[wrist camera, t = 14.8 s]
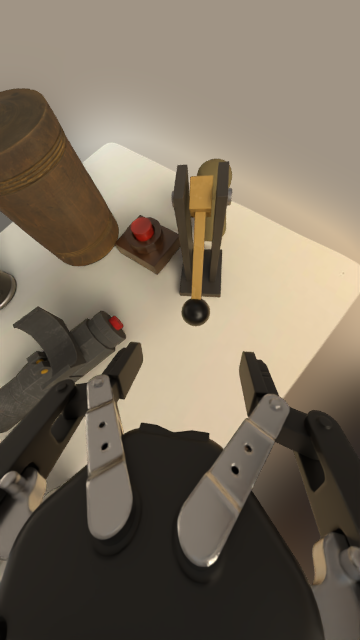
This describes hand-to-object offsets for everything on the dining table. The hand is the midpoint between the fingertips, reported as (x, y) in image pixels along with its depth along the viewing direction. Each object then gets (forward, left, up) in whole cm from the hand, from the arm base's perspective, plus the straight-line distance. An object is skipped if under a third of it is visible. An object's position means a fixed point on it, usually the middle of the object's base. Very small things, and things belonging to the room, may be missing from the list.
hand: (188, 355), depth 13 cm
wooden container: (-35, +8, -14) cm, 38 cm away
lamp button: (-20, +13, -10) cm, 26 cm away
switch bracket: (-8, +14, -14) cm, 21 cm away
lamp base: (-20, +13, -14) cm, 28 cm away
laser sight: (-17, -13, -14) cm, 25 cm away
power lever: (-6, +10, -4) cm, 12 cm away
